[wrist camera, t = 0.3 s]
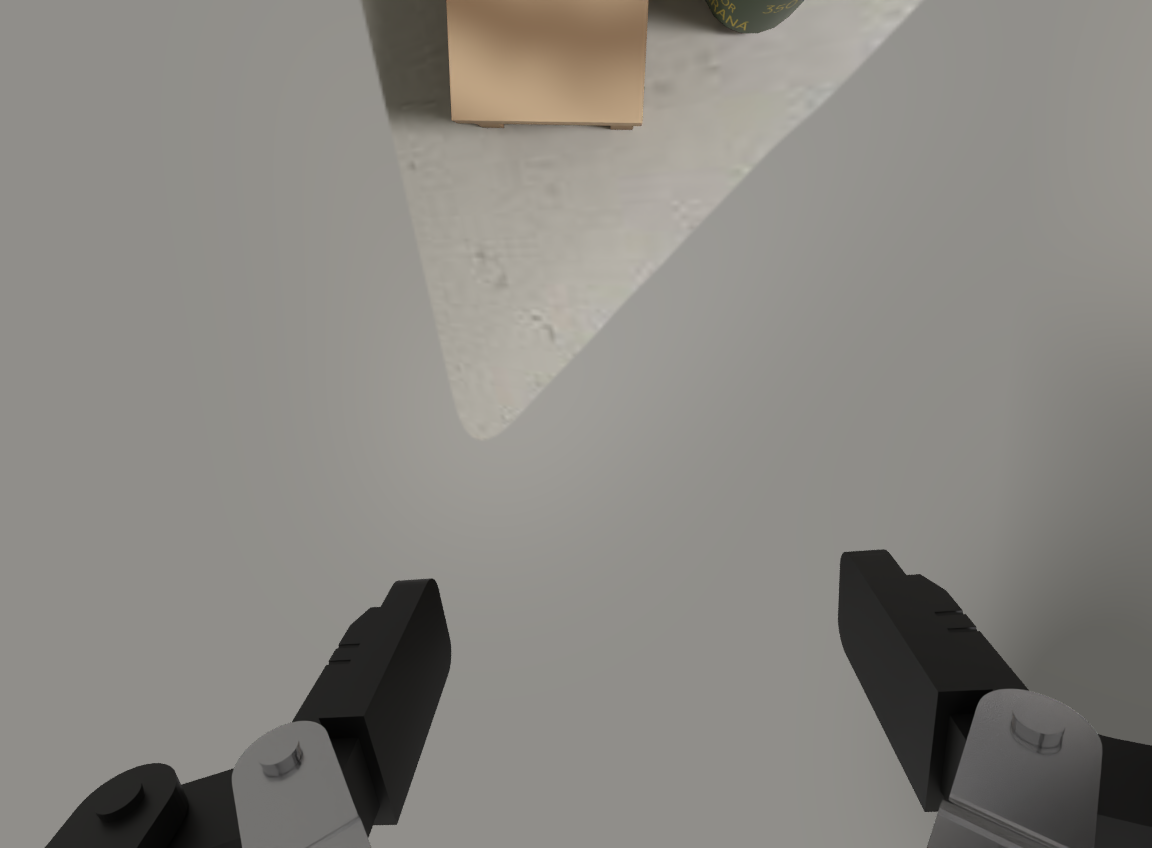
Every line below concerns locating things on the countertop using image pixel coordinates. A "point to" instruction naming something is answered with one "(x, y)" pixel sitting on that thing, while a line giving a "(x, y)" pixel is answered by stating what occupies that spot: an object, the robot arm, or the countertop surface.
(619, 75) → the stool
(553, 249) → the countertop surface
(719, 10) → the green soda can
